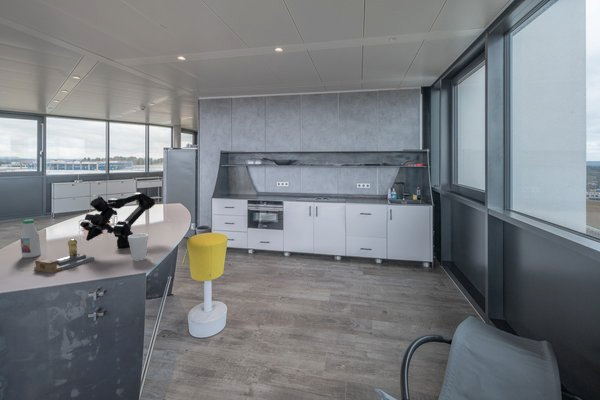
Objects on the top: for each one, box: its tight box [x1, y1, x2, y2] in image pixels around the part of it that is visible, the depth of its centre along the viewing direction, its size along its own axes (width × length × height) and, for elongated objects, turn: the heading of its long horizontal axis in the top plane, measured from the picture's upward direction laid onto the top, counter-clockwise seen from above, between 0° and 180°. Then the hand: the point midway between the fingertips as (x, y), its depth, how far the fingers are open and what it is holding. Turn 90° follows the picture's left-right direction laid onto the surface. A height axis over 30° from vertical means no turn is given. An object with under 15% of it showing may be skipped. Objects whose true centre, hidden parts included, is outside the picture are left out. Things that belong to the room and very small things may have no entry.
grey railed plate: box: [33, 253, 95, 274], centre depth 153 cm, size 21×12×5 cm, turn 163°
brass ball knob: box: [55, 238, 78, 263], centre depth 154 cm, size 10×4×10 cm, turn 163°
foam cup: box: [128, 233, 149, 262], centre depth 163 cm, size 10×9×13 cm
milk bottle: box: [20, 218, 42, 259], centre depth 165 cm, size 8×8×20 cm
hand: (87, 240), depth 164 cm, fingers closed
